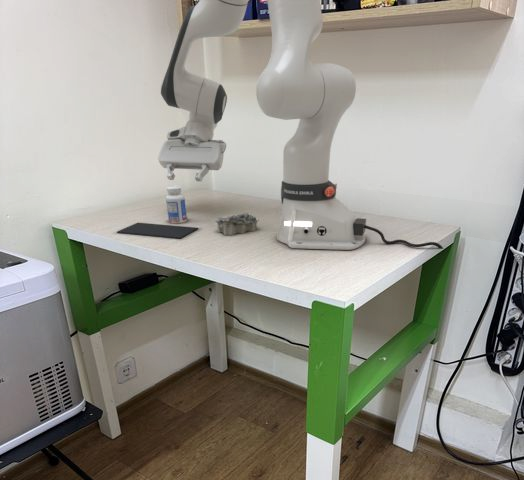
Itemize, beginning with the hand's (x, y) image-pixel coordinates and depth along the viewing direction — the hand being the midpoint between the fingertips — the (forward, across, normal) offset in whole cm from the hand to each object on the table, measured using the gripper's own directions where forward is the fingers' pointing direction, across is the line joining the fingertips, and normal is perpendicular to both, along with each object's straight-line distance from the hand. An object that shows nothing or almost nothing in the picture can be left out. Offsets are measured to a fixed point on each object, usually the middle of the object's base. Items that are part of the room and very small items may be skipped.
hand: (184, 179), depth 141 cm
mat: (+20, 0, +4) cm, 20 cm away
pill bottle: (+12, 0, -4) cm, 13 cm away
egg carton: (+15, -21, -1) cm, 26 cm away
